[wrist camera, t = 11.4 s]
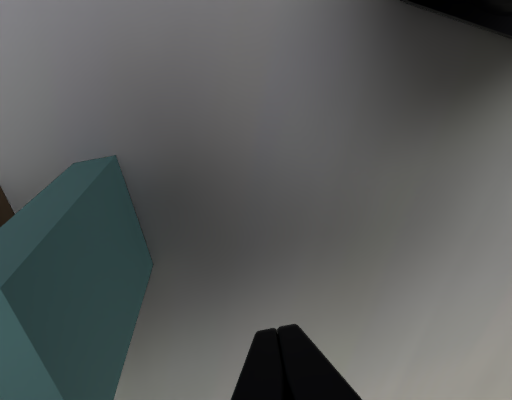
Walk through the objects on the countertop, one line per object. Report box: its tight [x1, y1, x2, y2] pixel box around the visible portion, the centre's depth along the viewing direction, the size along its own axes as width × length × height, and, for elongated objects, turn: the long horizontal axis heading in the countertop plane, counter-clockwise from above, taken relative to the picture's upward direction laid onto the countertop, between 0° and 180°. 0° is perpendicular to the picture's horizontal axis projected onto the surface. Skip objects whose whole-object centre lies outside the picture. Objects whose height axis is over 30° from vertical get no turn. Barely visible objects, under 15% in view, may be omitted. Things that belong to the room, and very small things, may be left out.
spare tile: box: [0, 155, 153, 400], centre depth 11 cm, size 2×5×8 cm, turn 9°
